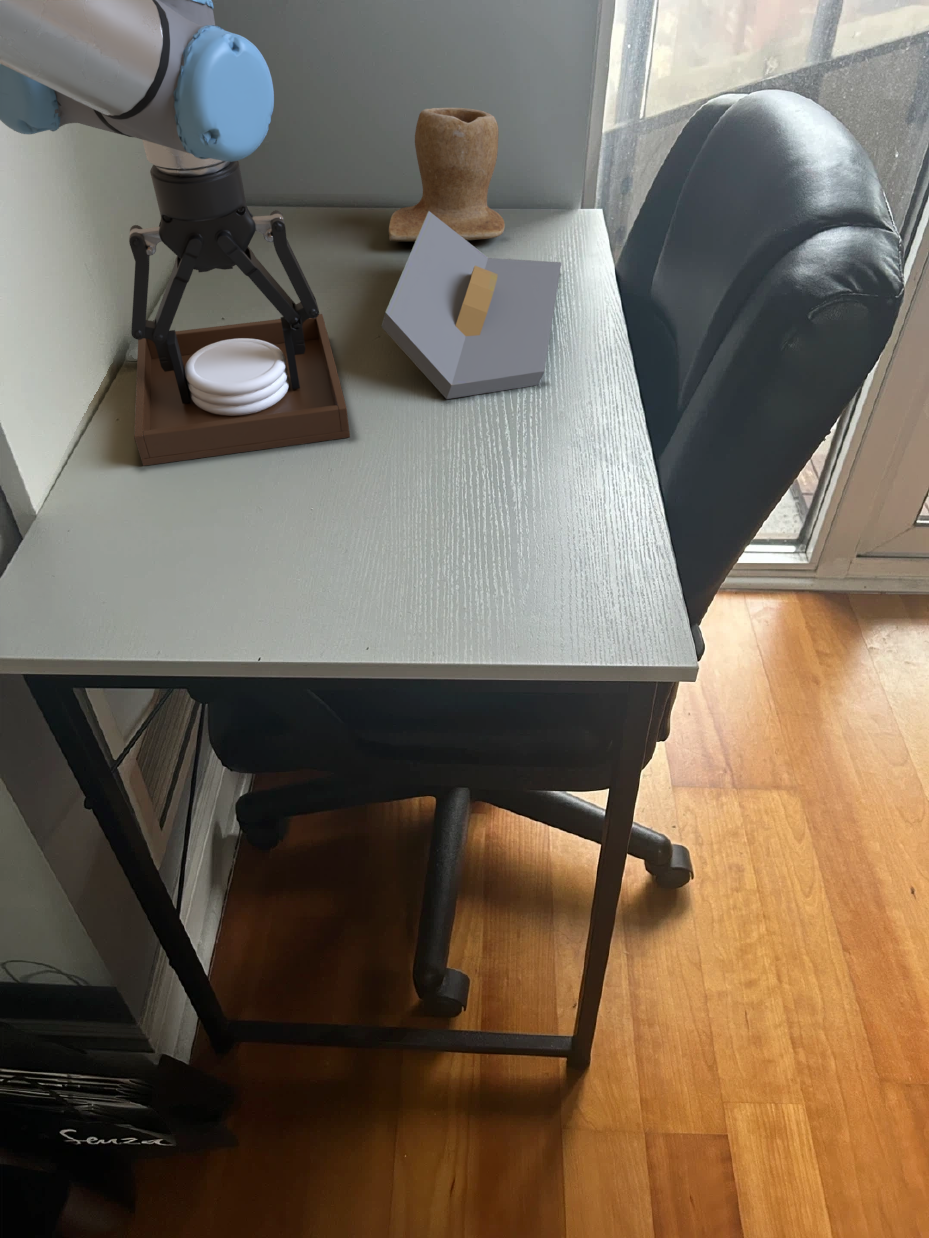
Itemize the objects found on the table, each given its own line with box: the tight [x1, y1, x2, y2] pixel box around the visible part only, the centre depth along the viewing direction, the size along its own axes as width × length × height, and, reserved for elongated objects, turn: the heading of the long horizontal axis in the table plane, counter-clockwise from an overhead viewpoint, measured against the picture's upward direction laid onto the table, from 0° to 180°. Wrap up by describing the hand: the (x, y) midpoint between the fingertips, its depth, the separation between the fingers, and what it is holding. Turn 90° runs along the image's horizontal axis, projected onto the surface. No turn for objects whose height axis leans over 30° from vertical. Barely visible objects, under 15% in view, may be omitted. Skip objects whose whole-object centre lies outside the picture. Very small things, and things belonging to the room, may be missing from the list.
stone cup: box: [388, 107, 506, 243], centre depth 120 cm, size 15×12×15 cm
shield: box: [380, 211, 562, 400], centre depth 105 cm, size 17×5×30 cm
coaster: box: [185, 338, 289, 416], centre depth 95 cm, size 10×10×4 cm
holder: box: [133, 313, 351, 467], centre depth 95 cm, size 20×20×3 cm
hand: (241, 389), depth 96 cm, fingers open, 10 cm apart
